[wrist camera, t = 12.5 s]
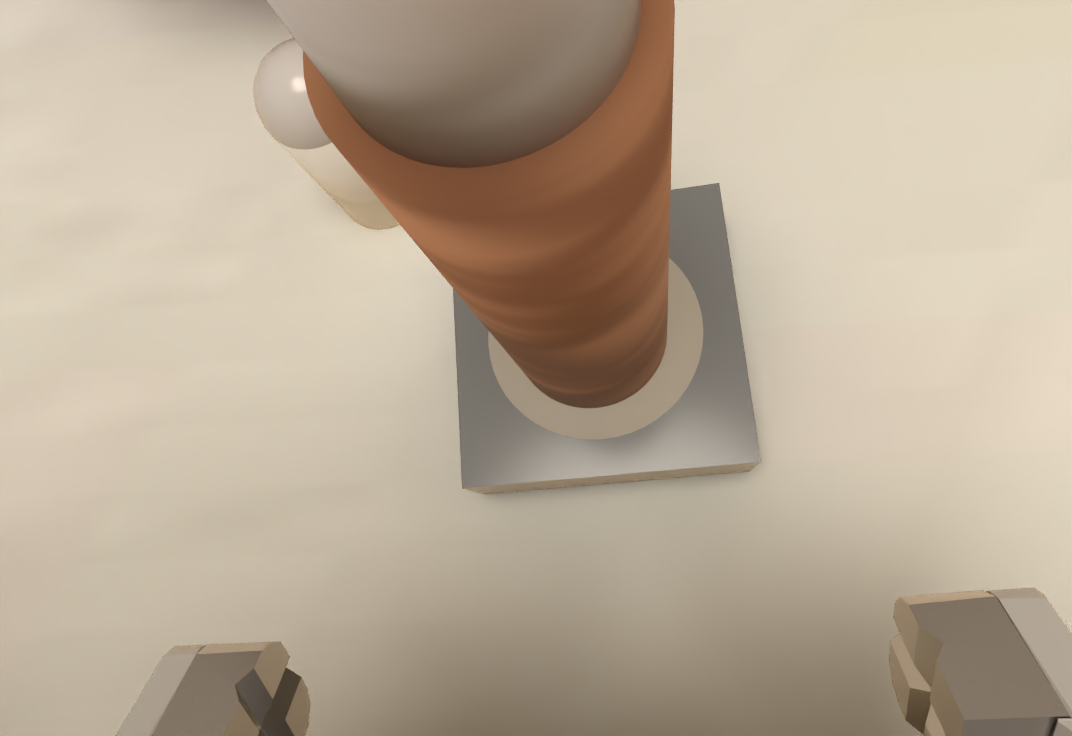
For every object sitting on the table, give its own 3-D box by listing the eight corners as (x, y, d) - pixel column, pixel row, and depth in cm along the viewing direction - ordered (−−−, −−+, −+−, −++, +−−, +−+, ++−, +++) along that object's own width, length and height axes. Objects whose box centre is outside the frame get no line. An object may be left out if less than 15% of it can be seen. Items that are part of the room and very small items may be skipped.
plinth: (485, 494, 25) (462, 488, 22) (472, 256, 27) (449, 222, 24) (749, 471, 23) (761, 461, 20) (712, 222, 26) (719, 182, 23)
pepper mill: (520, 415, 22) (197, 135, 7) (511, 272, 23) (219, -244, 8) (675, 400, 21) (709, 47, 6) (658, 253, 23) (648, -355, 7)
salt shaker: (342, 235, 28) (227, 126, 21) (342, 155, 29) (231, 22, 22) (428, 222, 28) (342, 105, 20) (425, 140, 29) (341, 0, 21)
